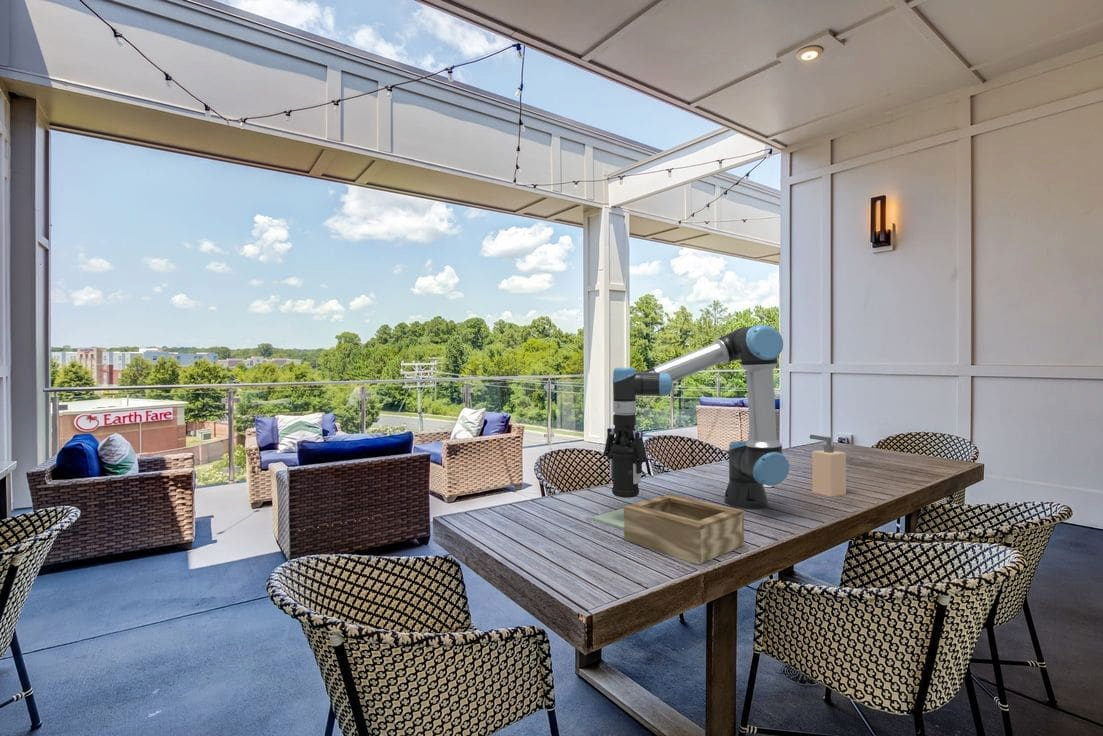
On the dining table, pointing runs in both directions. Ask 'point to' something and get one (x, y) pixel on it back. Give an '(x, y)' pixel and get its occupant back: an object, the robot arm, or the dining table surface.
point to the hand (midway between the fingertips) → (624, 480)
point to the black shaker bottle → (623, 470)
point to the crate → (684, 527)
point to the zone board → (612, 518)
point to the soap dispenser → (828, 470)
